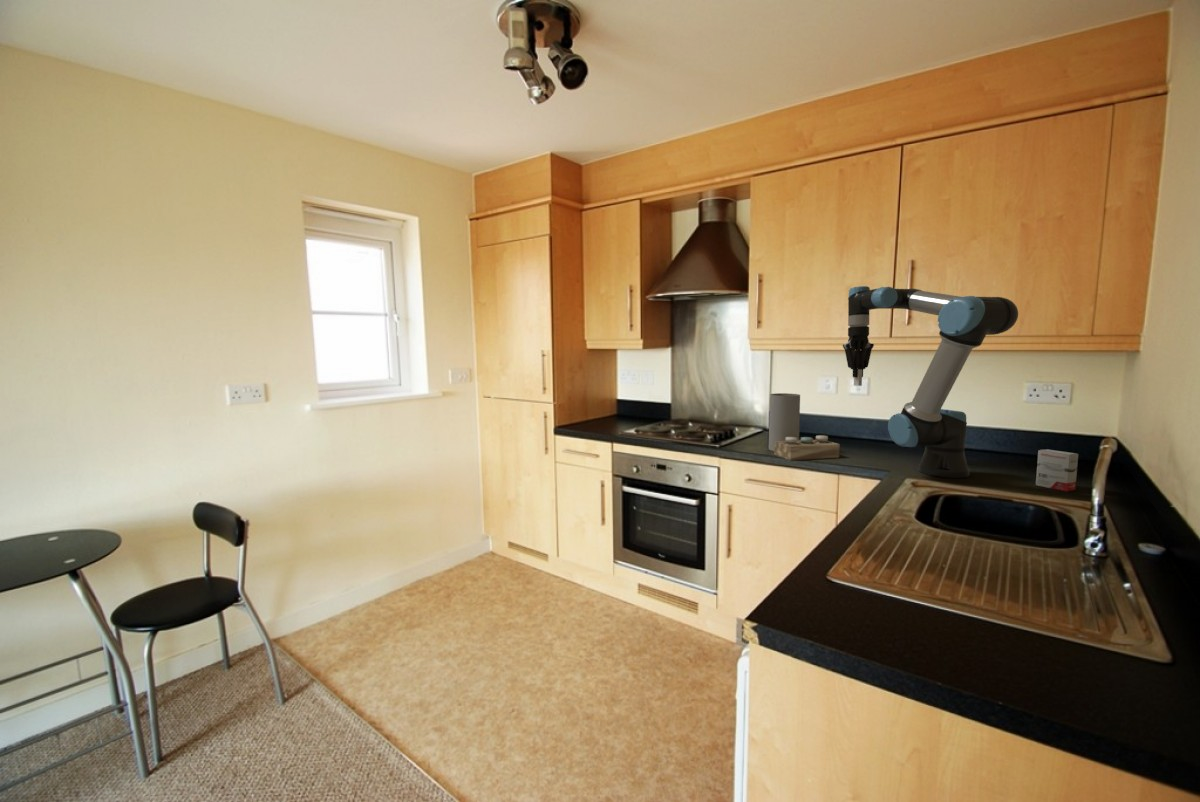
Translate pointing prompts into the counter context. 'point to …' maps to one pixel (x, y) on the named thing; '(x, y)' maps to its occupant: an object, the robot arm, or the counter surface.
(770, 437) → the cylinder vase
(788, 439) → the knob left
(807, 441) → the knob middle
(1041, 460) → the ink box
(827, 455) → the mount
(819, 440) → the knob right
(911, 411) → the robot arm
